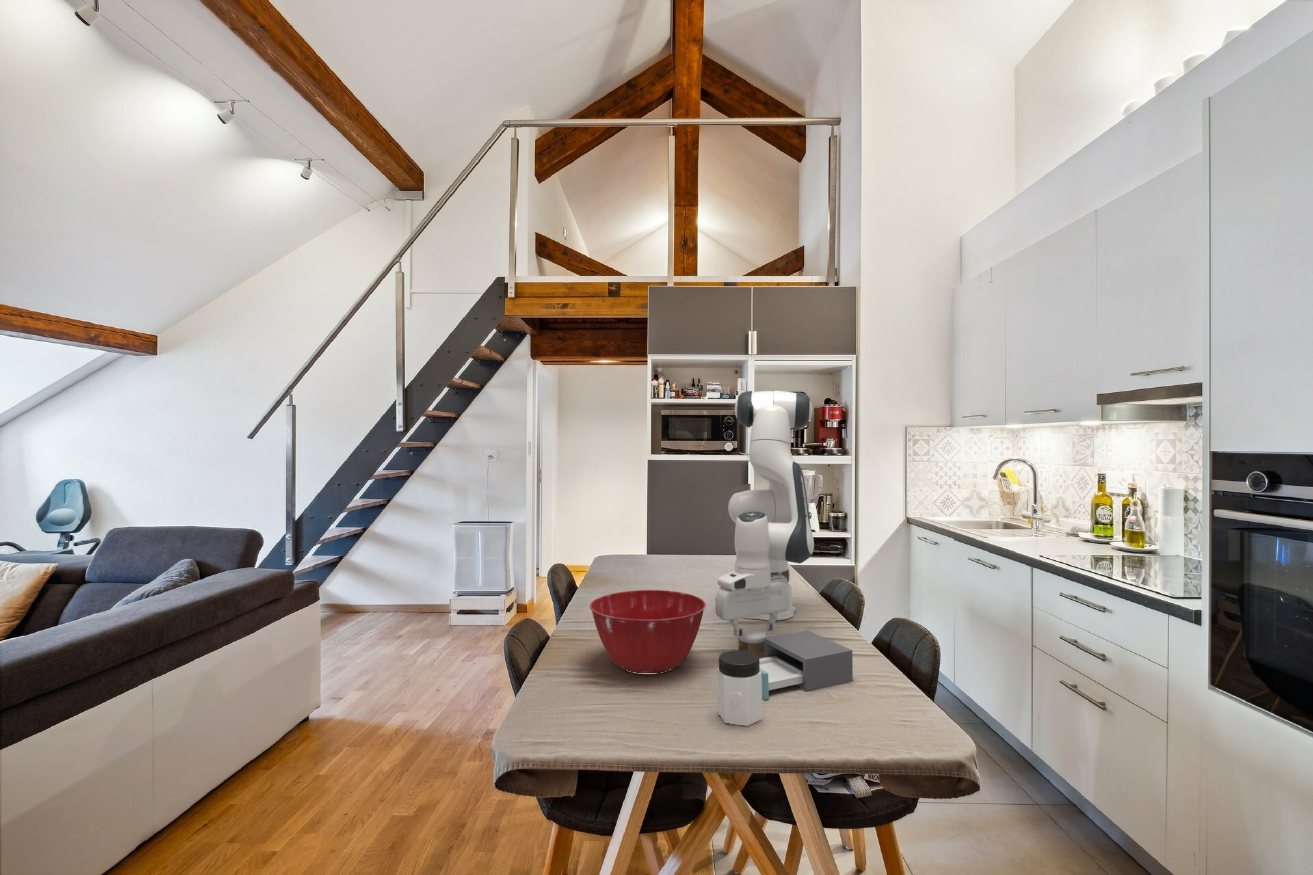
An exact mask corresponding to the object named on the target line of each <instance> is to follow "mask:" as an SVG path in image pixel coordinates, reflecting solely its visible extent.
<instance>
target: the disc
mask: <svg viewBox="0 0 1313 875" xmlns="http://www.w3.org/2000/svg"><path fill="white" fill-rule="evenodd" d="M741 629H742V636H738V640H739V639H740V640H741V641H742V642H746V643H762V642H764V638H767V635H766V634H767V633H766V632H767V631H765V629H762V628H757V627H745V628H741Z"/></svg>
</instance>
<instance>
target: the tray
mask: <svg viewBox="0 0 1313 875" xmlns="http://www.w3.org/2000/svg"><path fill="white" fill-rule="evenodd" d="M759 664H760V672H761V673H762V700H763V699H764V700H767V699H769V698H770V696H769V695H770V693H769V691H772V690H777V689H781V688H786V687H789V686H796V684H800V683H803V671H802V670H800V669H798V668H796V667H794V666H792V665H791V664H789V663H787V662H785V661H783V660H781V659H780V658H778V657H776V656H771V657H766V658H761V659H759Z"/></svg>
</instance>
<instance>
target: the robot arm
mask: <svg viewBox="0 0 1313 875" xmlns="http://www.w3.org/2000/svg"><path fill="white" fill-rule="evenodd" d="M813 410H814V409H813V404H812V401H811V398H810V397H809V395H808V394H806V393H802V392H799V391H797V392H792V391H785V390H774V391H773V390H760V391H753V390H748V391H743V392H741V393H740V394H739V395H738V397H737V399H736V401H735V405H734V414H735V417H736V421H737V422H738V423H739V424H740V425H741V426H744V427H746V428H747V429H748V428H751V429H750V437H749V448H748V455H749V462H750V465H751V466H752V469H753V471H754V472H755V474H756V475H757V476H758V477H759V478H762V479H763V480H766V481H768V484H769V487H768V488H767V489H749V490H743V491H739V492H736V493H733V494H732V496H730V499H729V501H728V505H727V506H728V508H727V510H728V516H729V517H730V519H731V520H732V521H733V522H734V524H735V528H734V550H735V555H736V558H735V561H734V569H732V570H730V571H729V572H727V573H725V574H723V575H721V576H719V577H718V578H717V585H718V586H719V588H718V589H717V591H716V594H715V615H716V616H717V617H718V618H719V619H720V620H723V621H728V622H729V624H730V625H731V627H732V629H733V636H734V637H739V636H742V629H743V628H741V627H739V624H738V623H739V619H751V620H752V619H753V620H754V619H755V620H761V621H762V620H764V621H767V622H765V623H764V624H765V627H764V628H765V629H764V630H766V631H767V632H772V631H774V630H775V623H776V621H782V620H787V619H788V620H789V619H790V618H792V617H794V616H795V614H794V613H795V612H796V610H797V607H795V606H794V599H793V591H792V590H793V589H792V586H791V584H790V583H789V581H790V575H791V574H790V569H789V568H788V564H789V563H795V564H802V563H804V562H805V561H807V560H808V559H810V558H811V557H812V555H813V553H814V550H815V542H814V540H815V539H814V536H813V531H812V527H811V526H812V525H811V521H810V514H809V511H810V502H809V499H808V497H807V490H806V484H805V477H804V472H803V469H802V467H801V465H800V463H798V462H796V461H795V460H794V458H793V455H792V451H791V447H792V445H791V444H792V437H791V436H792V431H791V429H794V431H795V432H796V431H798V430H800V429H804V428H805V427H807V426H808V425H809V423H810V421H811V419H812V417H813ZM788 562H789V563H788Z"/></svg>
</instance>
